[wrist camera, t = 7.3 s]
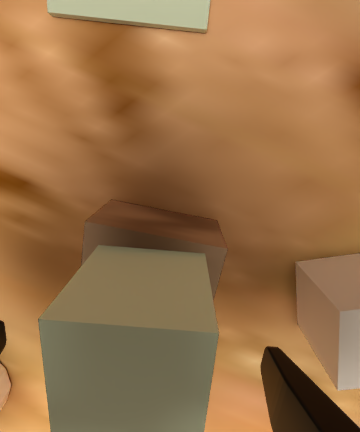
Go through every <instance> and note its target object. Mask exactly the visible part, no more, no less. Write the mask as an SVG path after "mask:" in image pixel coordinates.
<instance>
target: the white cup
mask: <svg viewBox="0 0 360 432" xmlns="http://www.w3.org/2000/svg"><path fill="white" fill-rule="evenodd" d="M10 388H11V383H10V380H9V377H8V374H7V371H6V369H5V368H4V366H3V365H2V364H1V363H0V411H1V409H2V407H3V406H4V404H5V403H6V401H7V398H8V395H9V391H10Z"/></svg>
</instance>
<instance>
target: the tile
mask: <svg viewBox="0 0 360 432" xmlns="http://www.w3.org/2000/svg"><path fill="white" fill-rule="evenodd" d="M209 7H210V0H47V9H48V13H49V14H50V15H51V16H53V17H62V18H71V19H81V20H90V21H99V22H108V23H117V24H126V25H136V26H145V27H154V28H163V29H172V30H182V31H191V32H200V33H206V32H207V25H208V16H209Z"/></svg>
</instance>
